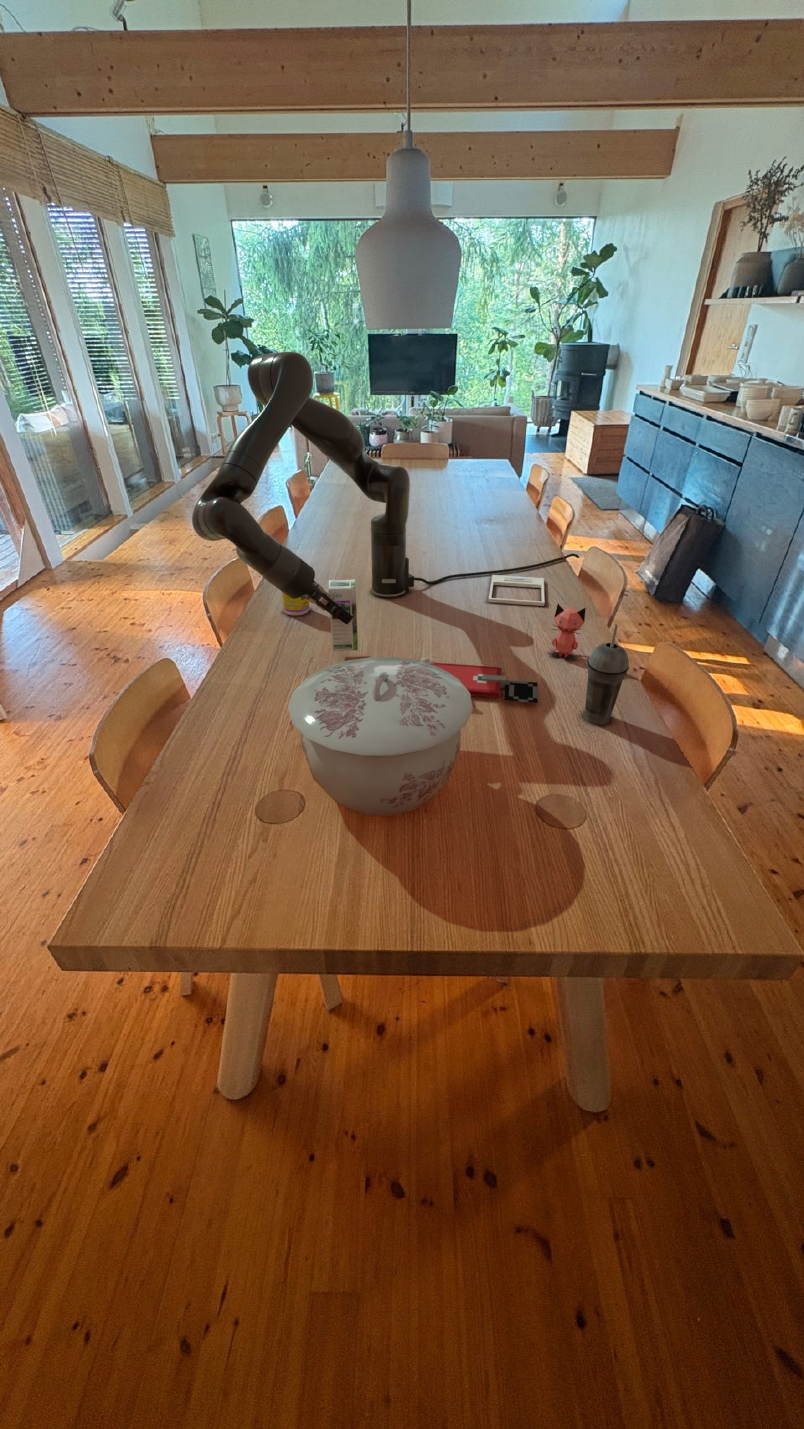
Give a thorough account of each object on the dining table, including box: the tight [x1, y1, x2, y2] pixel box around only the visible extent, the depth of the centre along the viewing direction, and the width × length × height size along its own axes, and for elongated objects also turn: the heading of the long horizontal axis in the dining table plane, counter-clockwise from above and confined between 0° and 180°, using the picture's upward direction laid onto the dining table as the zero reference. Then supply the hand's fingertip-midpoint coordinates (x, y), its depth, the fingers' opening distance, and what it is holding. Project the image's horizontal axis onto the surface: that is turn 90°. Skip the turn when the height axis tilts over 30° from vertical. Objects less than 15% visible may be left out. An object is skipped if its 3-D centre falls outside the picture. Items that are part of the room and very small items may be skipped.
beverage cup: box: [584, 623, 630, 725], centre depth 113 cm, size 7×7×20 cm
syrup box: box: [328, 578, 359, 652], centre depth 134 cm, size 6×6×14 cm
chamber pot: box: [287, 656, 474, 818], centre depth 96 cm, size 28×28×21 cm
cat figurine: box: [551, 603, 587, 661], centre depth 137 cm, size 7×7×12 cm
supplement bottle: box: [281, 591, 310, 617], centre depth 157 cm, size 7×7×13 cm
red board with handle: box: [431, 661, 539, 704], centre depth 128 cm, size 30×3×15 cm
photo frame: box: [487, 574, 546, 607], centre depth 171 cm, size 15×1×18 cm
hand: (342, 614), depth 134 cm, fingers closed on syrup box, 7 cm apart
